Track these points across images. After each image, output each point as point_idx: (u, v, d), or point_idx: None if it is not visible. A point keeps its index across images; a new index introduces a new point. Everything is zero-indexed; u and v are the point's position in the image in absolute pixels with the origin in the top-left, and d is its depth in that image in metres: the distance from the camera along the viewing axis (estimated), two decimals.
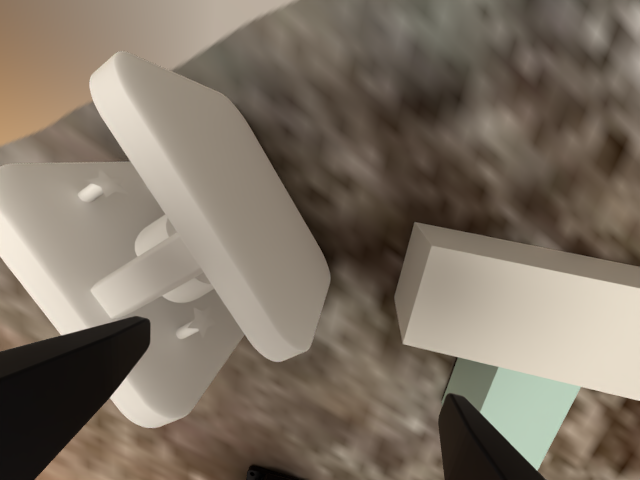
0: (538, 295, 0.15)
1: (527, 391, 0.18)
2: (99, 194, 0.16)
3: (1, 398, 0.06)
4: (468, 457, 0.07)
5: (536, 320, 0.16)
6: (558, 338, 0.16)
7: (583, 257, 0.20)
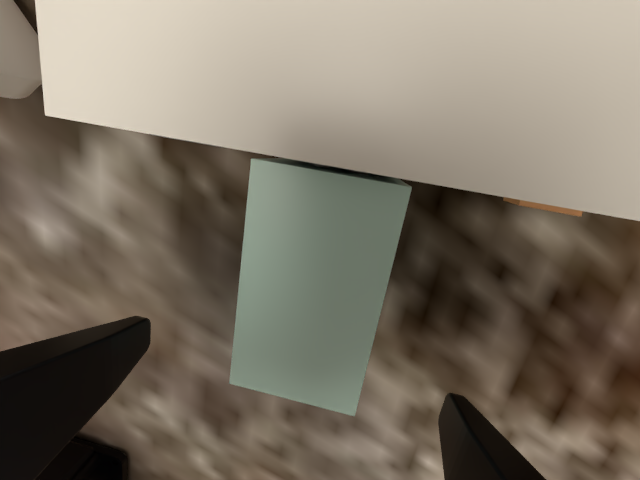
0: None
1: (312, 218, 0.09)
2: None
3: (1, 398, 0.06)
4: (468, 457, 0.07)
5: (272, 8, 0.07)
6: (326, 52, 0.07)
7: None
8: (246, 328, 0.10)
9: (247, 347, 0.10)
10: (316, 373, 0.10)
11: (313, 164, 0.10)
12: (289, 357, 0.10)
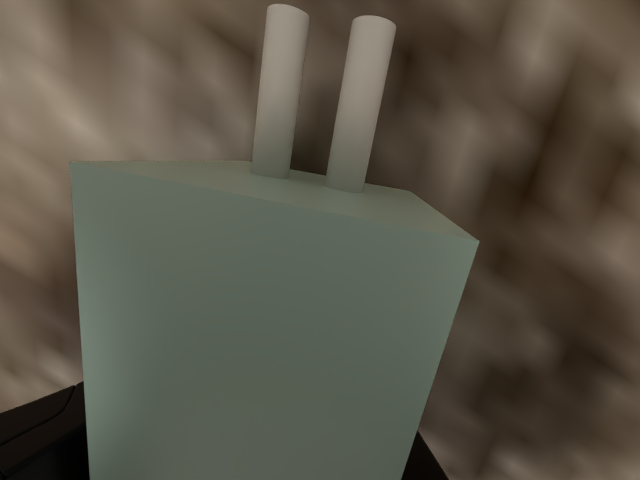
0: None
1: (226, 306, 0.04)
2: None
3: None
4: None
5: None
6: None
7: None
8: None
9: None
10: None
11: (256, 172, 0.05)
12: None
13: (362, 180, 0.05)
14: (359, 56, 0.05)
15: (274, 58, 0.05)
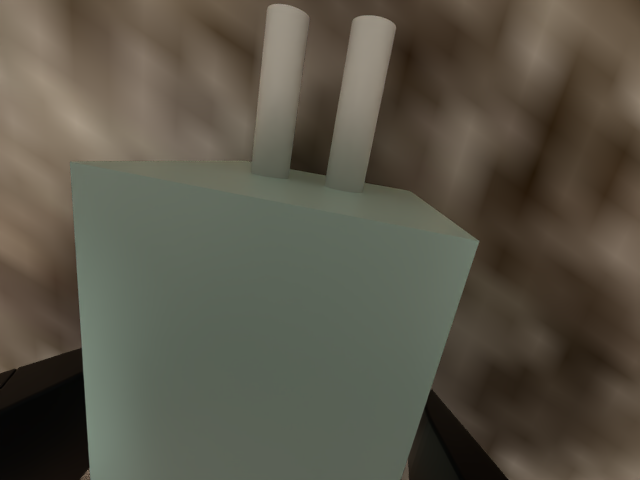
0: None
1: (226, 307, 0.04)
2: None
3: (43, 410, 0.06)
4: (427, 446, 0.07)
5: None
6: None
7: None
8: None
9: None
10: None
11: (256, 172, 0.05)
12: None
13: (362, 180, 0.05)
14: (359, 56, 0.05)
15: (274, 58, 0.05)
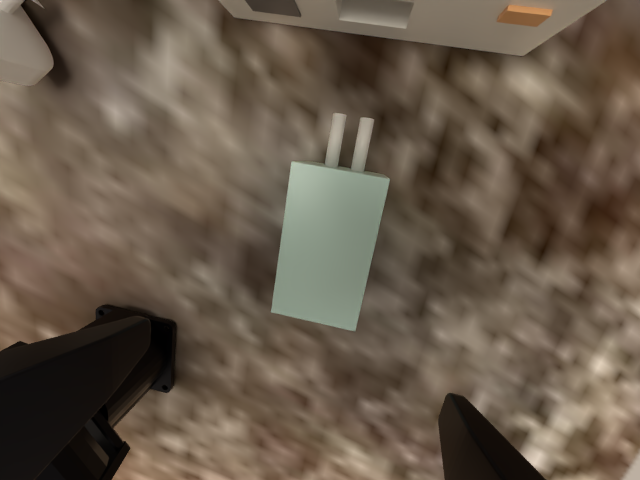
0: None
1: (329, 198, 0.14)
2: None
3: (1, 398, 0.06)
4: (468, 457, 0.07)
5: None
6: None
7: None
8: (284, 272, 0.15)
9: (284, 285, 0.15)
10: (330, 302, 0.15)
11: (327, 165, 0.16)
12: (312, 291, 0.15)
13: (363, 167, 0.16)
14: (363, 129, 0.15)
15: (336, 128, 0.15)
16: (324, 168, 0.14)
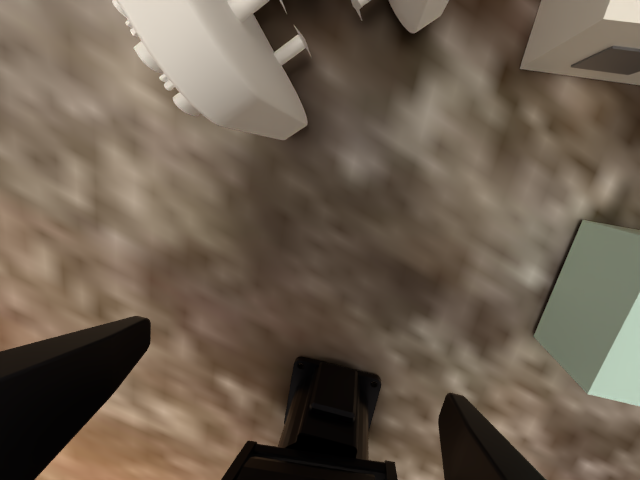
0: None
1: None
2: None
3: (1, 398, 0.06)
4: (468, 457, 0.07)
5: None
6: None
7: None
8: (617, 355, 0.14)
9: (613, 368, 0.14)
10: None
11: None
12: None
13: None
14: None
15: None
16: None
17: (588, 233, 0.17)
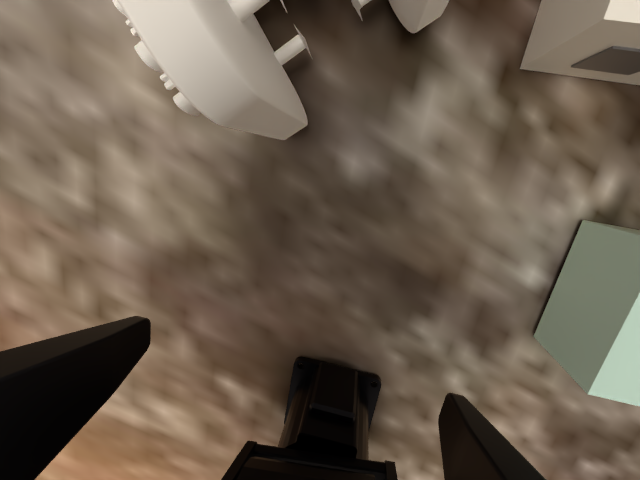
0: None
1: None
2: None
3: (1, 398, 0.06)
4: (468, 457, 0.07)
5: None
6: None
7: None
8: (617, 355, 0.14)
9: (613, 368, 0.14)
10: None
11: None
12: None
13: None
14: None
15: None
16: None
17: (588, 234, 0.17)
